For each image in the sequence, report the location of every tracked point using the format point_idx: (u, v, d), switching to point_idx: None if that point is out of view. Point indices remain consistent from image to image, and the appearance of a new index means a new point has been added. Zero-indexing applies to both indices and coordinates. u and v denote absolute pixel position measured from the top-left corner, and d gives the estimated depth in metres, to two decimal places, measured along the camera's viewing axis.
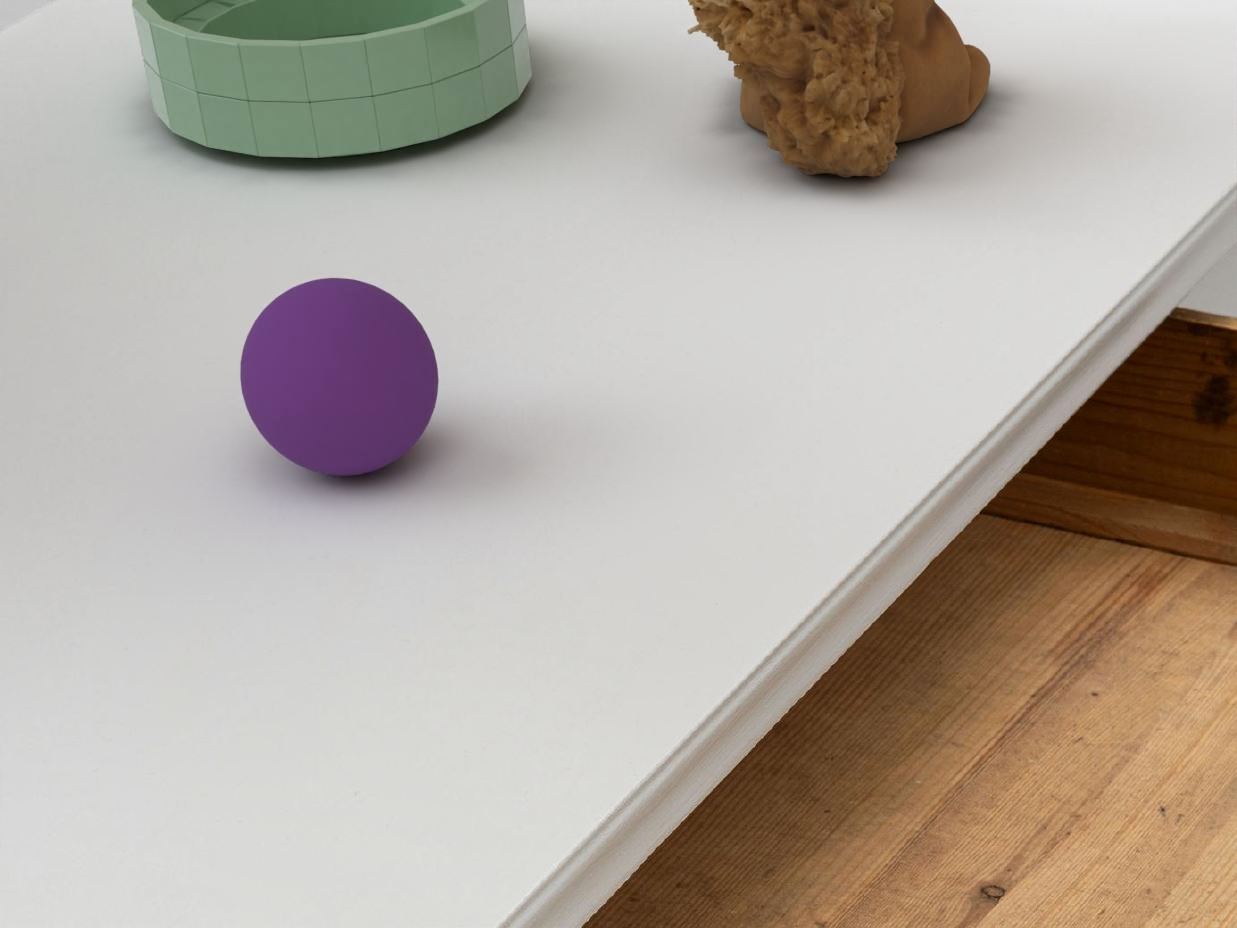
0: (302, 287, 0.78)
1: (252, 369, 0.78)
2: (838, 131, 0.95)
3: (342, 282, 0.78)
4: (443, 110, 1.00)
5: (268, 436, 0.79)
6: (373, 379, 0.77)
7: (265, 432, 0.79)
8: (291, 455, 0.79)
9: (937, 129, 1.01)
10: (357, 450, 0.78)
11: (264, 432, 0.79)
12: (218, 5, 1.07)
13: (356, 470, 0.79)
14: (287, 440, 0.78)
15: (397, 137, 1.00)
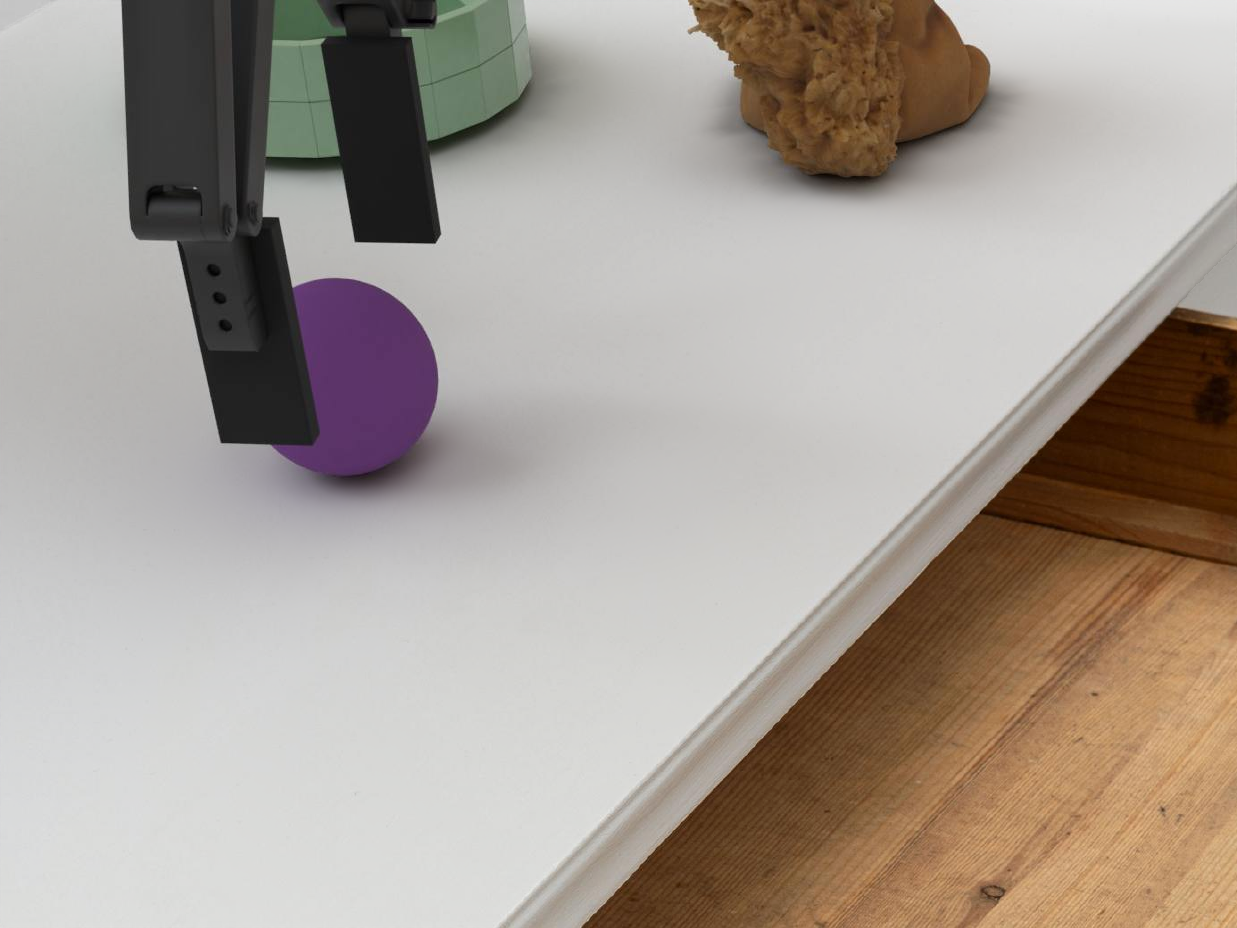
0: (302, 287, 0.78)
1: None
2: (837, 131, 0.95)
3: (342, 282, 0.78)
4: (443, 110, 1.00)
5: None
6: (373, 379, 0.77)
7: None
8: (291, 455, 0.79)
9: (937, 129, 1.01)
10: (357, 450, 0.78)
11: None
12: None
13: (356, 470, 0.79)
14: None
15: None
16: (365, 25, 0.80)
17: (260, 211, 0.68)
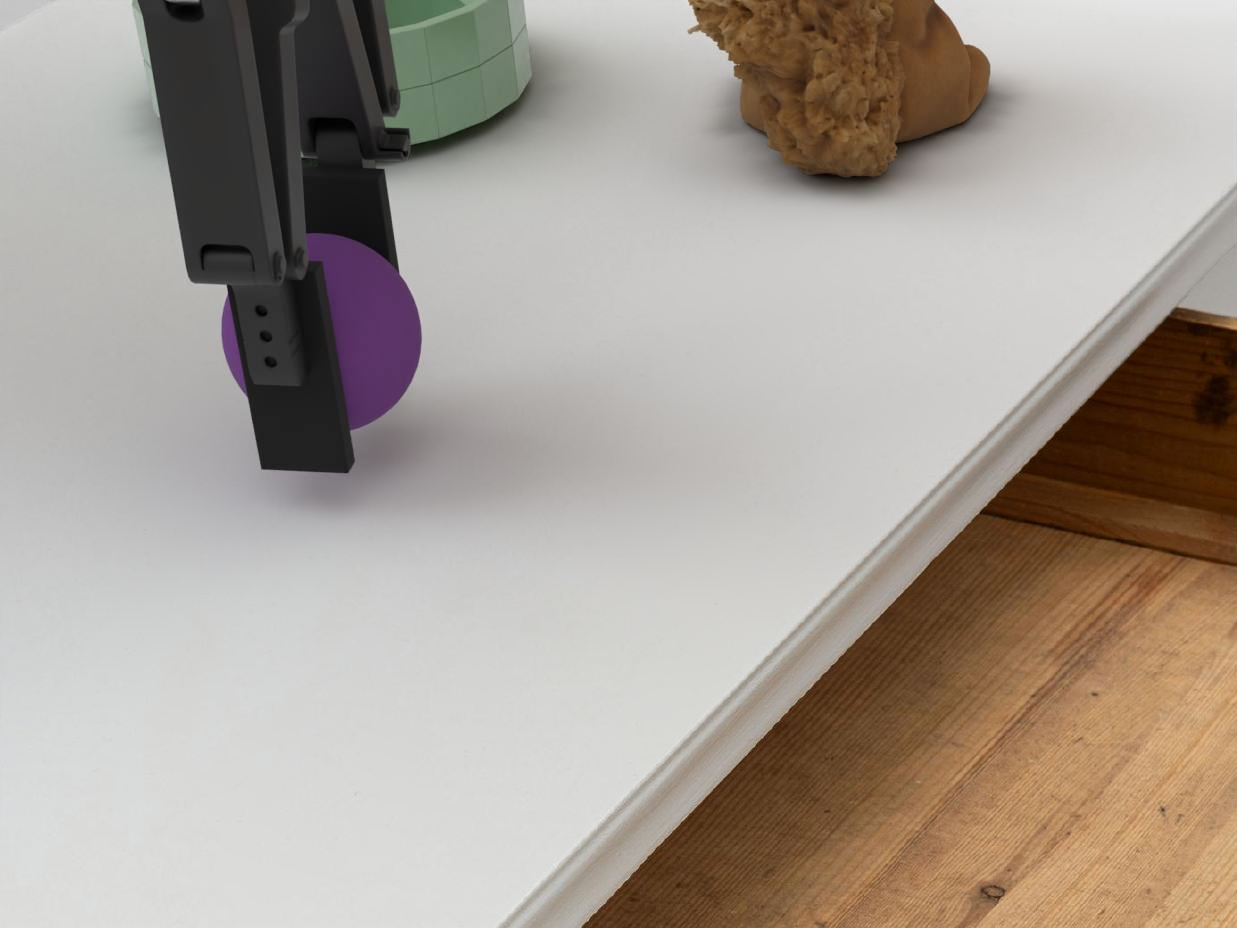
0: None
1: (233, 324, 0.77)
2: (838, 131, 0.95)
3: (325, 237, 0.77)
4: (443, 110, 1.00)
5: None
6: (356, 335, 0.76)
7: None
8: None
9: (937, 129, 1.01)
10: None
11: (245, 388, 0.78)
12: None
13: None
14: None
15: None
16: (335, 149, 0.79)
17: (305, 256, 0.73)
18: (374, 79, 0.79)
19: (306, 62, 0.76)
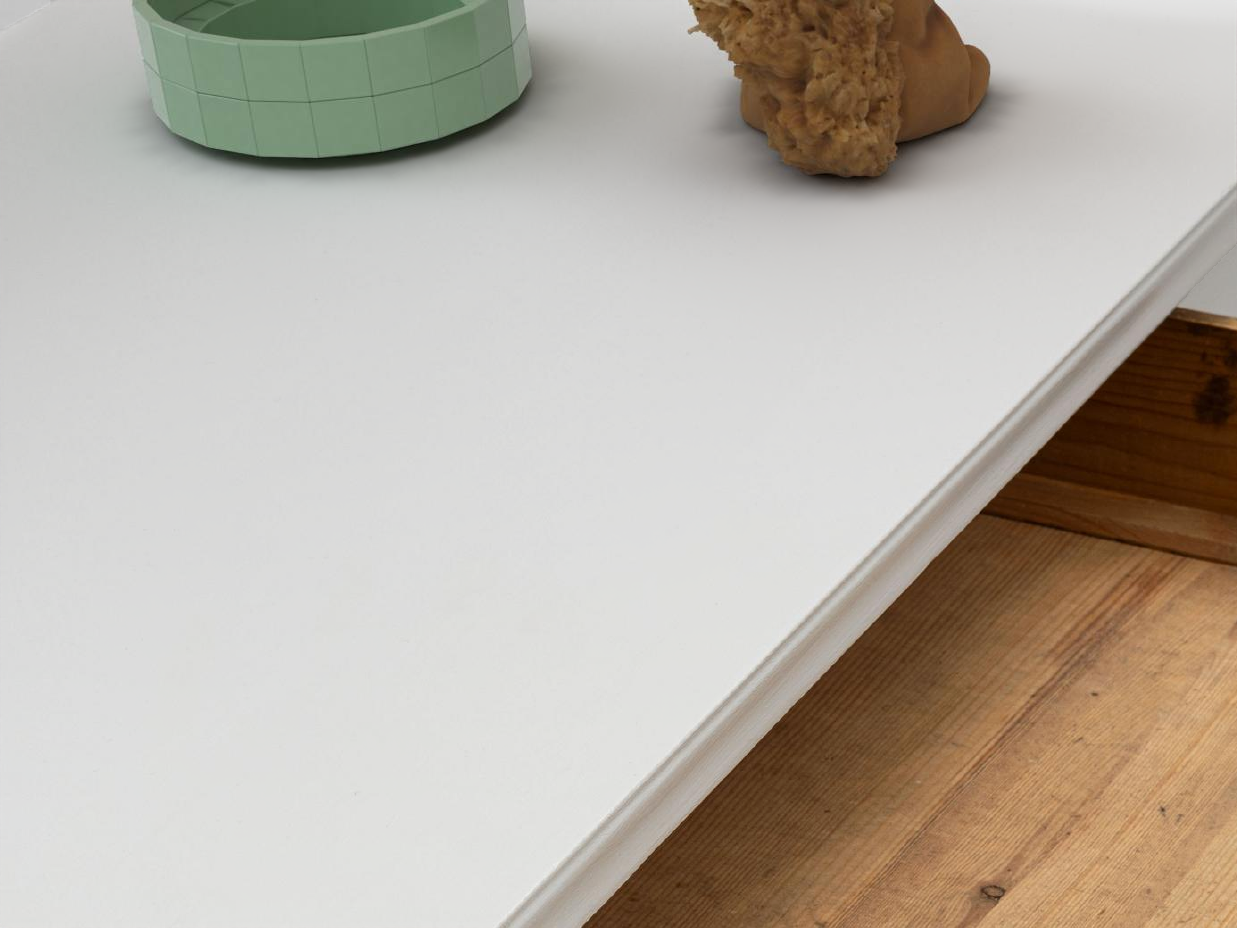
0: None
1: None
2: (837, 131, 0.95)
3: None
4: (443, 110, 1.00)
5: None
6: None
7: None
8: None
9: (937, 129, 1.01)
10: None
11: None
12: (218, 5, 1.07)
13: None
14: None
15: (397, 137, 1.00)
16: None
17: None
18: None
19: None
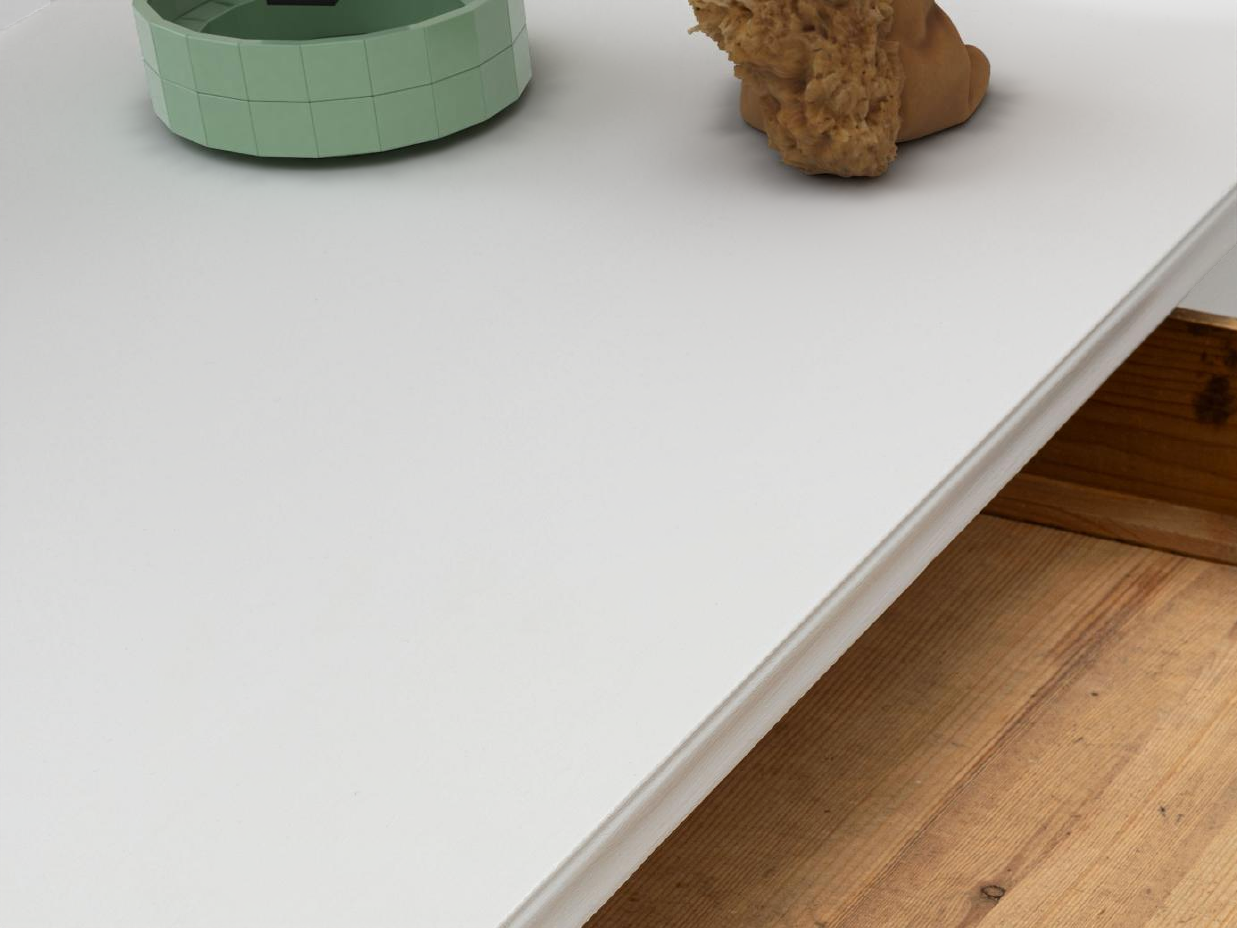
0: None
1: None
2: (837, 131, 0.95)
3: None
4: (443, 110, 1.00)
5: None
6: None
7: None
8: None
9: (937, 129, 1.01)
10: None
11: None
12: (218, 5, 1.07)
13: None
14: None
15: (397, 137, 1.00)
16: None
17: None
18: None
19: None
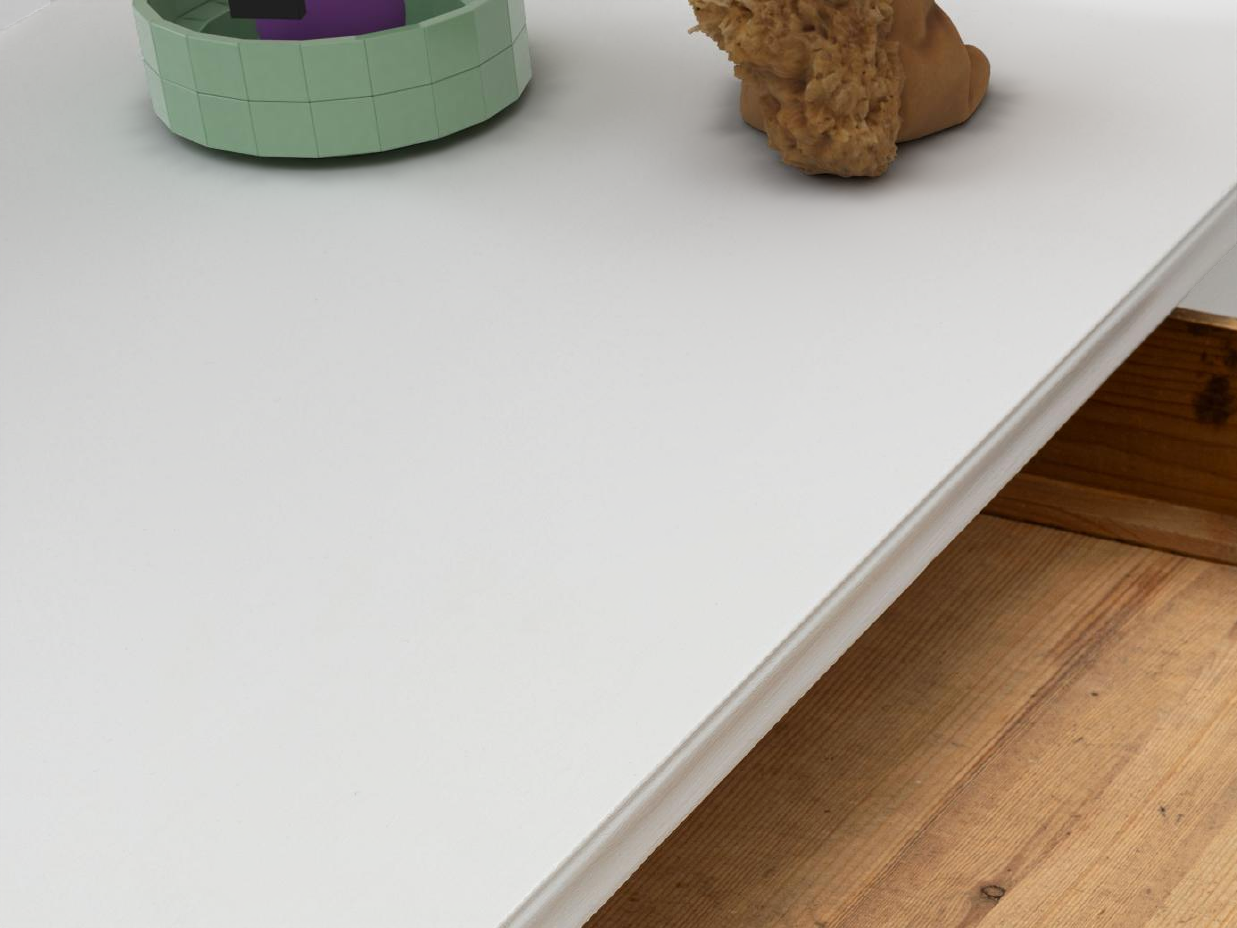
0: None
1: None
2: (838, 131, 0.95)
3: None
4: (443, 110, 1.00)
5: None
6: (355, 4, 1.01)
7: None
8: None
9: (937, 129, 1.01)
10: None
11: None
12: (218, 5, 1.07)
13: None
14: None
15: (397, 137, 1.00)
16: None
17: None
18: None
19: None
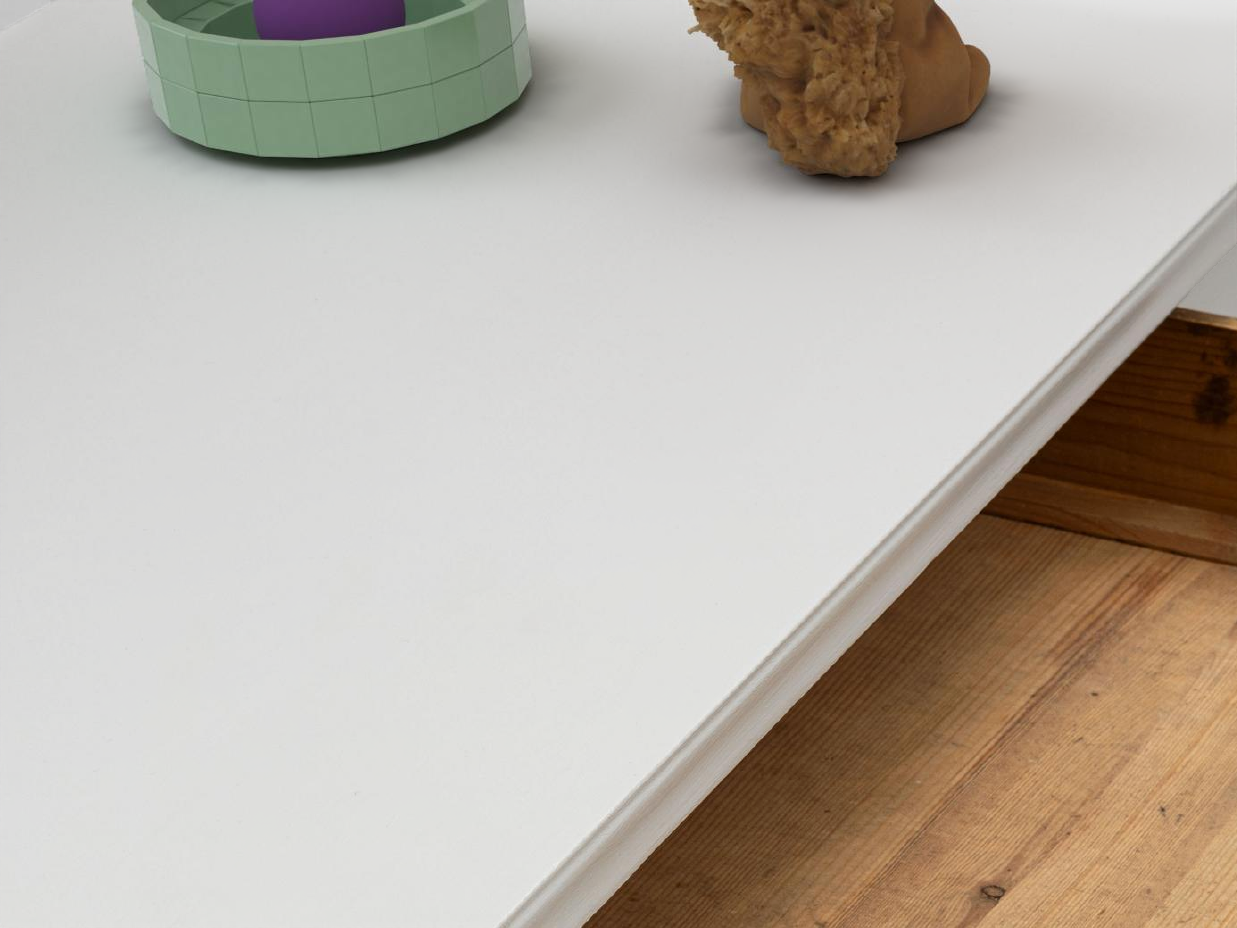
0: None
1: None
2: (837, 131, 0.95)
3: None
4: (443, 110, 1.00)
5: None
6: (355, 4, 1.01)
7: None
8: None
9: (937, 129, 1.01)
10: None
11: None
12: (218, 5, 1.07)
13: None
14: None
15: (397, 137, 1.00)
16: None
17: None
18: None
19: None
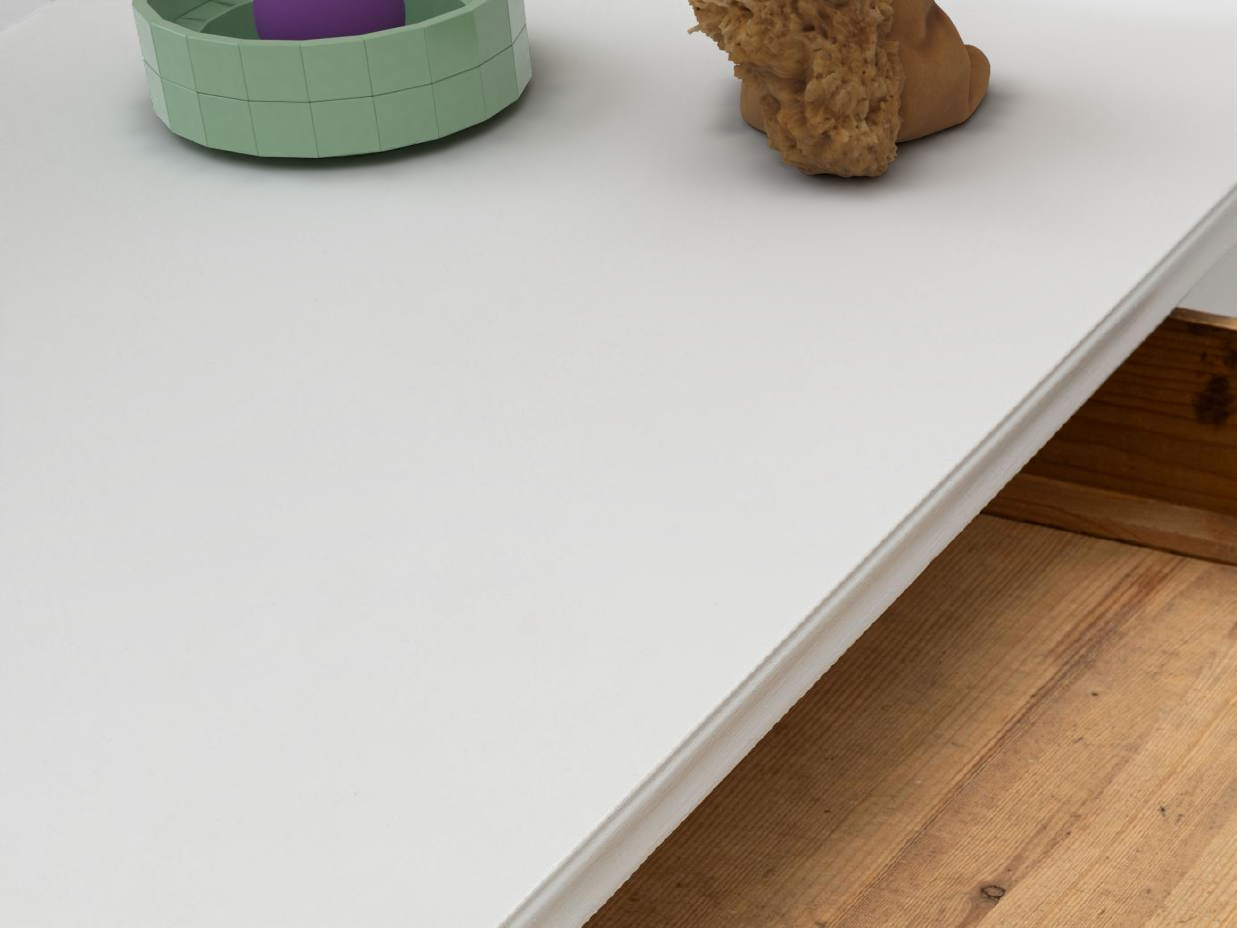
0: None
1: None
2: (837, 131, 0.95)
3: None
4: (443, 110, 1.00)
5: None
6: (355, 5, 1.01)
7: None
8: None
9: (937, 129, 1.01)
10: None
11: None
12: (218, 5, 1.07)
13: None
14: None
15: (397, 137, 1.00)
16: None
17: None
18: None
19: None
